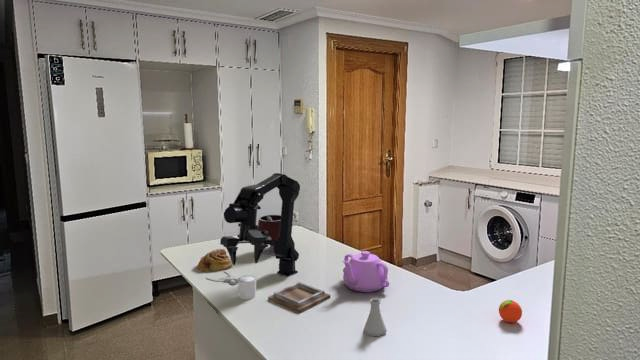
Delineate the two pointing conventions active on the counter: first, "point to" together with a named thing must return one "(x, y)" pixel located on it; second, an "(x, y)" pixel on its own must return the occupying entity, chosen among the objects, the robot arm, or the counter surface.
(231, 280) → the pliers
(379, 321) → the flask
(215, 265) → the pastry
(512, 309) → the clementine
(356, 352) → the counter surface
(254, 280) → the shot glass
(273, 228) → the dark red goblet shape
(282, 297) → the brown square tray
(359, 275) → the teapot
